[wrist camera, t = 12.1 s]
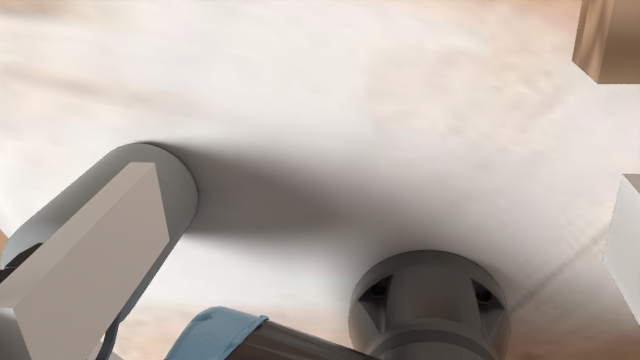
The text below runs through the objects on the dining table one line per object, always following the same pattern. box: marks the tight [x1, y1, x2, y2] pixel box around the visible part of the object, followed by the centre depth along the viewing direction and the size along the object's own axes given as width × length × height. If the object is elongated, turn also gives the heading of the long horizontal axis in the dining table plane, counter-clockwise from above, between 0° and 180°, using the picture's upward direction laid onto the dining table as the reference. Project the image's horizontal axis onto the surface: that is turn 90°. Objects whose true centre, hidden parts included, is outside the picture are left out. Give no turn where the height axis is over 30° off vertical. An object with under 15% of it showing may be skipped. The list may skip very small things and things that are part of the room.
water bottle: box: [1, 143, 198, 360], centre depth 38 cm, size 10×10×28 cm
